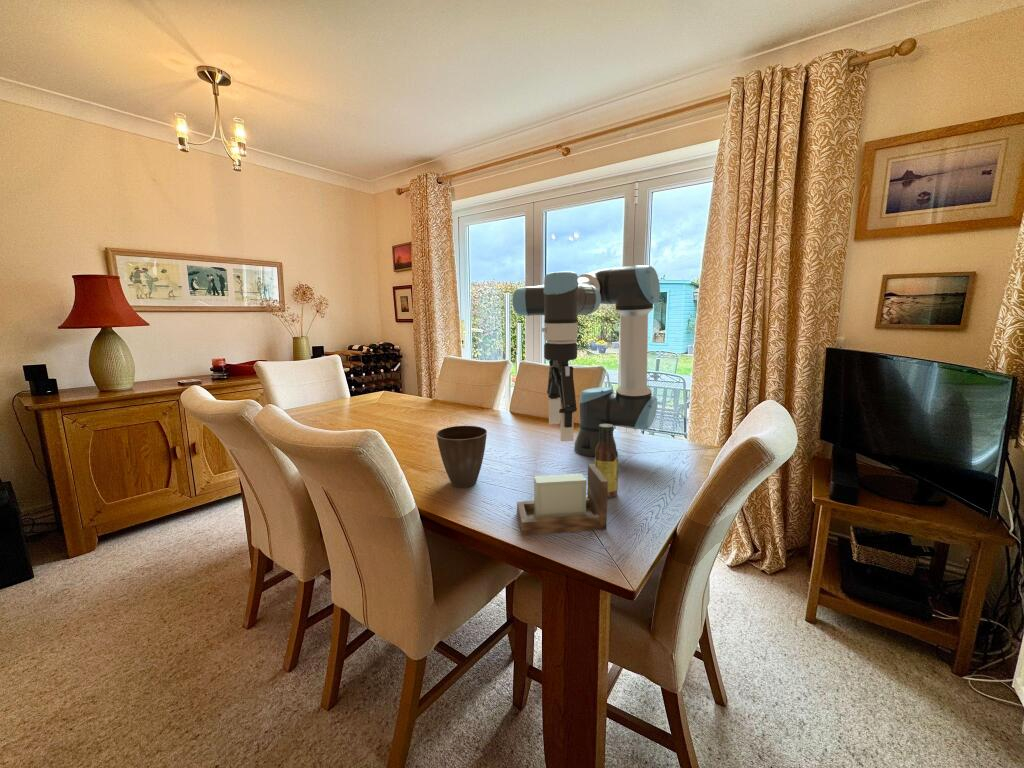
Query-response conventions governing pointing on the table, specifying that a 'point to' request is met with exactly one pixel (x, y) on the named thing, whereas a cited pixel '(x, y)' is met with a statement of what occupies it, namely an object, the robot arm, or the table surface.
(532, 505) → the wooden l-shaped stand
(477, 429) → the plant pot
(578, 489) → the cream rectangular block
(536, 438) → the table surface
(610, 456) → the sauce bottle
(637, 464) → the table surface
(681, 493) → the table surface
